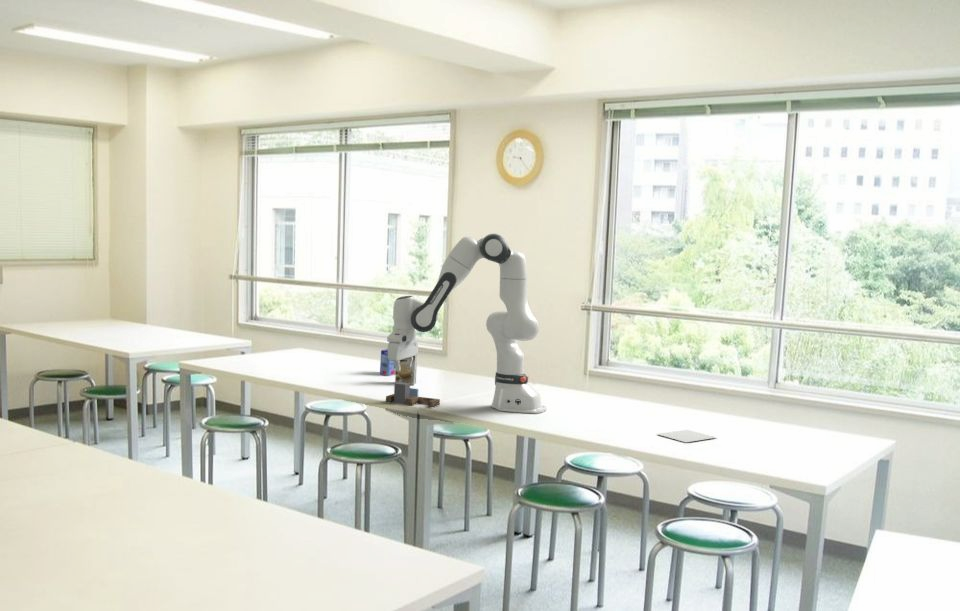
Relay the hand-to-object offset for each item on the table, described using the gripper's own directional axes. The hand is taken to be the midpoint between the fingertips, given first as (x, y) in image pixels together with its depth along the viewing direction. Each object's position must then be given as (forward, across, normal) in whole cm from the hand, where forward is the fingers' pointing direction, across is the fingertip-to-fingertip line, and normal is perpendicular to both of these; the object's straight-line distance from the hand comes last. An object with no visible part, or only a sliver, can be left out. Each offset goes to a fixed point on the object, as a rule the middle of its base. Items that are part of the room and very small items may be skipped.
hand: (403, 369), depth 353 cm
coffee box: (+15, -40, -20) cm, 47 cm away
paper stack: (+16, +4, +116) cm, 117 cm away
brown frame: (+14, -1, +5) cm, 15 cm away
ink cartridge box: (+15, -60, -39) cm, 73 cm away
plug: (+14, +1, 0) cm, 14 cm away
